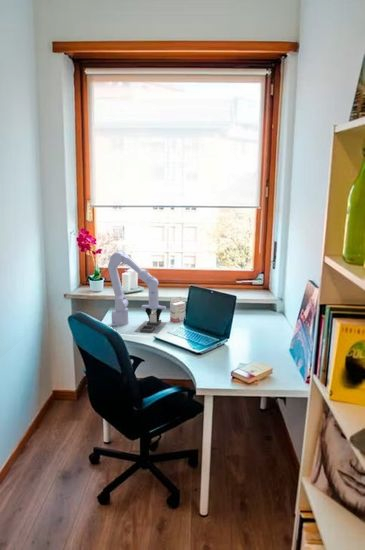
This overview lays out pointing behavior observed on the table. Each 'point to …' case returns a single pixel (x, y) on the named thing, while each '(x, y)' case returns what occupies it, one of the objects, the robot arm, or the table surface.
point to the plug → (153, 318)
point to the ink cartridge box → (177, 309)
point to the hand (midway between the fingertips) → (154, 320)
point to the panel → (151, 327)
